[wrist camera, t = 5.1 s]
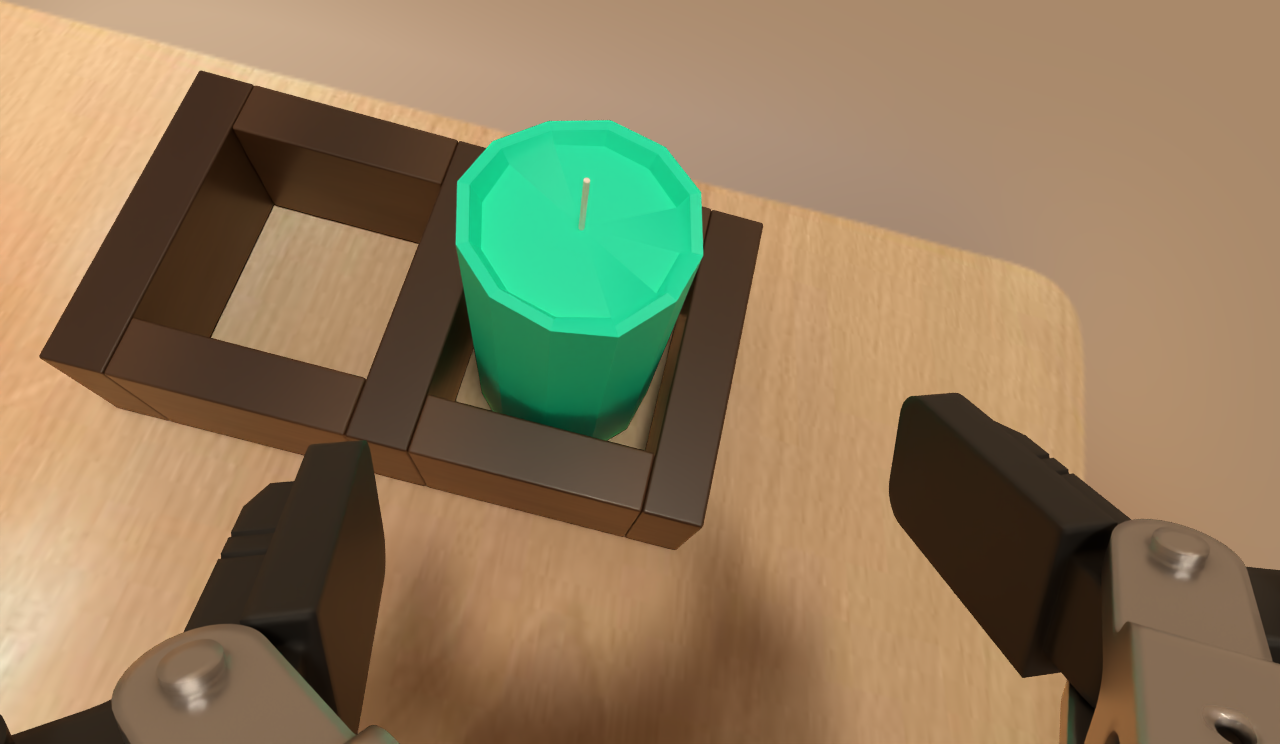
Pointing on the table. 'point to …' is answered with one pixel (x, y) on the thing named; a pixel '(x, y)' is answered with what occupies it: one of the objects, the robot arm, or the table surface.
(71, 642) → the table surface
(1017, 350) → the table surface
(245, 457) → the table surface
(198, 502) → the table surface
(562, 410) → the candle
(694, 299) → the rack
